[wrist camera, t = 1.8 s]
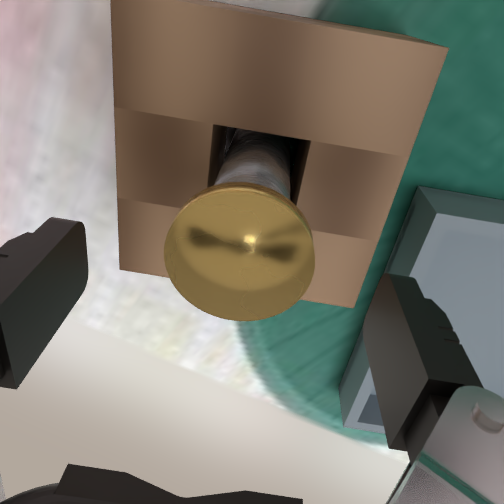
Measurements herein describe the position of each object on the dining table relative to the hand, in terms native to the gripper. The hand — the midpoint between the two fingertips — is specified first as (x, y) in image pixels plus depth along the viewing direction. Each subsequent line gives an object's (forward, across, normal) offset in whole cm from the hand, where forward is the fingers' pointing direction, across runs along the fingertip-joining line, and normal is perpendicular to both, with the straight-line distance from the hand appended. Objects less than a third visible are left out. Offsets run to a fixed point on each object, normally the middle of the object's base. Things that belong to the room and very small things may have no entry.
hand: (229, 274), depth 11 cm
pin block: (+13, 0, 0) cm, 13 cm away
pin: (+13, 0, 0) cm, 13 cm away
